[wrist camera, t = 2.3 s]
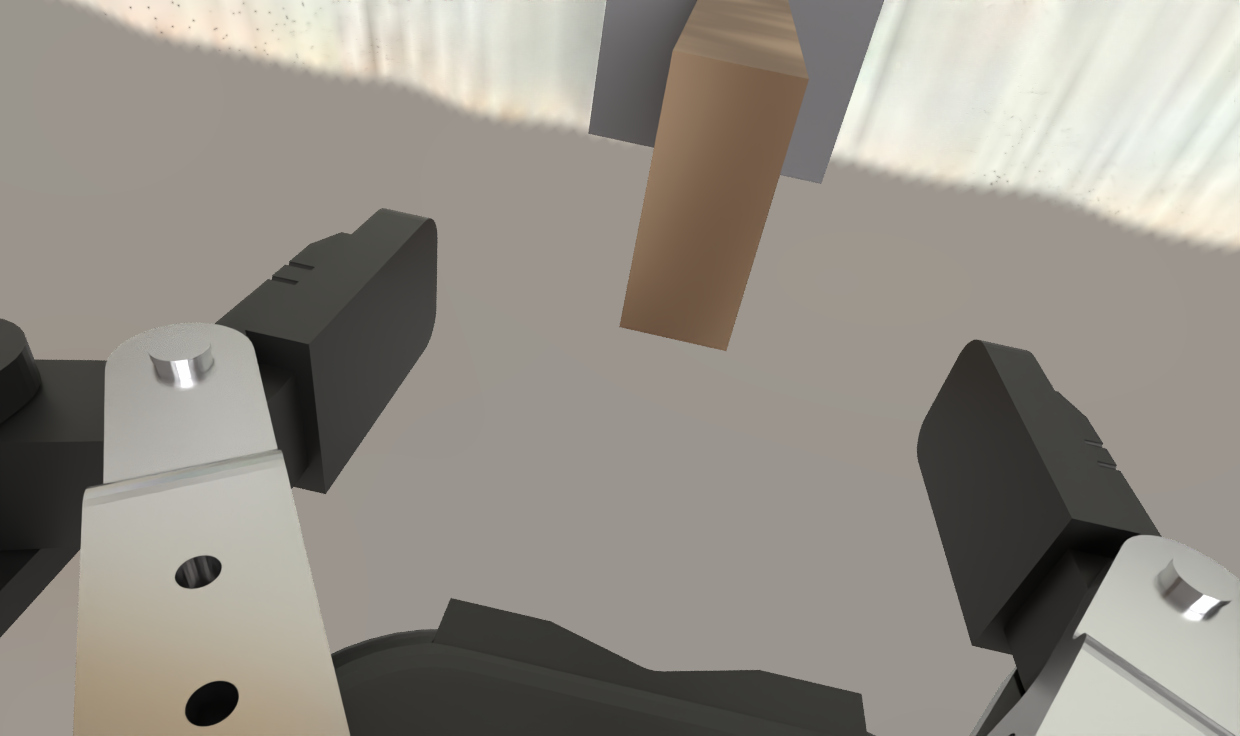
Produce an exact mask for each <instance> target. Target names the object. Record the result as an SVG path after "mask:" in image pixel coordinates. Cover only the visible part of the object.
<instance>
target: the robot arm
mask: <svg viewBox="0 0 1240 736" xmlns="http://www.w3.org/2000/svg"><path fill="white" fill-rule="evenodd" d="M436 286H437V228H436V224H435V222H434V220H432V219H430V218H426V217H421V216H417V215H412V214H407V213H403V212H398V211H394V210H389V209H384V208H382V209H380V210H378V211H377V212H376V213H375V214H374V215H373V216H371V217H370V218H369V219H368V220H367V221H366V222H365V223H364V224H363V225H361V226H360V227H359V228H358V229H357V230H356V231H355V232H354V233H353V234H347V233H342V232H341V233H338V234H336V235H333V236H330V237H328V238H325V239H322V240H320V241H317V242H315V243H312V244H310V245H308V246H307V247H306V248H305V249H304V250H302V251H301V252H300V253H299V254H298V255H296V256H295V257H294V258H293V259H292V260H290V261H289V265H284V266H283V267H282V268H281V269H280V270H279V271H277V272H276V273H275V274H274V275H273V277H272V280H269V279H268V280H266V281H265V282H264V283H263V284H262V285H261V286H259V287H258V288H257V289H256V290H255V291H253V292H252V293H251V294H250V295H248V296H247V297H246V298H245V299H244V300H242V301H241V302H240V303H239V304H238V305H236V306H235V307H234V308H233V309H232V310H230V311H229V312H228V313H227V314H226V315H224V316H223V317H222V318H221V319H220V320H218V321H217V322H216V323H215V324H208V323H183V324H174V325H168V326H163V327H159V328H155V329H152V330H149V331H146V332H143V333H141V334H139V335H137V336H134V337H132V338H131V339H129V340H127V341H125V342H124V343H122V344H121V345H120V346H119V347H117V348H116V349H115V350H114V351H113V353H112V354H111V355H110V356H109V358H108V360H107V361H98V360H95V361H94V360H34V357H33V355H32V352H31V350H30V347H29V345H28V342H27V340H26V337H25V335H24V332H23V331H22V330H21V329H20V327H18V326H16V325H15V324H14V323H12V322H9V321H7V320H4V319H0V637H1V636H2V635H3V634H4V633H5V632H6V631H7V630H8V628H9V627H10V626H11V625H12V624H13V623H14V622H15V621H16V620H17V618H18V617H19V616H20V615H21V614H22V613H23V612H24V611H25V610H26V609H27V607H28V606H29V605H30V604H31V603H32V602H33V601H34V600H35V599H36V598H37V596H38V595H39V594H40V593H41V592H42V590H44V589H45V587H46V586H47V585H48V584H49V583H50V582H51V581H52V580H53V579H54V578H55V576H56V575H57V574H58V573H59V572H60V571H61V570H62V569H63V568H64V567H65V565H66V564H67V563H68V562H69V561H70V560H71V559H72V558H73V557H74V555H75V554H76V553H77V552H78V551H79V550H80V549H81V551H80V577H79V600H78V602H79V603H78V627H77V650H76V674H75V698H74V722H73V736H875V735H873V734H871V733H868V732H867V731H866V724H865V716H864V709H863V703H862V695H861V694H859V693H855V692H851V691H847V690H842V689H838V688H834V687H829V686H825V685H821V684H816V683H812V682H808V681H804V680H799V679H795V678H791V677H787V676H782V675H778V674H774V673H770V672H765V671H761V670H739V671H738V670H737V671H735V670H734V671H671V672H670V671H667V672H662V671H653V670H649V669H646V668H643V667H641V666H639V665H637V664H635V663H633V662H631V661H629V660H627V659H625V658H623V657H621V656H619V655H617V654H615V653H613V652H611V651H609V650H607V649H605V648H603V647H601V646H599V645H597V644H595V643H593V642H591V641H589V640H587V639H585V638H583V637H581V636H579V635H577V634H575V633H573V632H571V631H569V630H567V629H565V628H563V627H561V626H559V625H557V624H555V623H553V622H551V621H546V620H542V619H538V618H534V617H529V616H525V615H521V614H517V613H512V612H508V611H504V610H499V609H495V608H491V607H487V606H482V605H478V604H474V603H469V602H465V601H461V600H457V599H452V598H451V599H450V601H449V604H448V607H447V609H446V611H445V613H444V616H443V618H442V621H441V623H440V626H439V628H438V629H435V630H434V629H430V630H415V631H408V632H400V633H393V634H389V635H385V636H381V637H377V638H373V639H369V640H366V641H363V642H360V643H357V644H354V645H352V646H349V647H346V648H344V649H341V650H339V651H337V652H335V653H333V654H331V653H330V649H329V645H328V641H327V637H326V632H325V628H324V624H323V620H322V616H321V612H320V608H319V604H318V599H317V595H316V591H315V587H314V582H313V578H312V574H311V570H310V566H309V562H308V557H307V554H306V549H305V545H304V541H303V537H302V532H301V528H300V524H299V520H298V516H297V512H296V508H295V503H294V499H293V495H292V491H291V489H292V488H293V487H297V488H302V489H306V490H310V491H315V492H319V493H324V494H326V493H327V491H328V490H329V488H330V487H331V485H332V484H333V482H334V481H335V480H336V478H337V477H338V475H339V474H340V472H341V471H342V469H343V468H344V466H345V465H346V464H347V462H348V461H349V459H350V458H351V456H352V455H353V453H354V452H355V450H356V449H357V447H358V446H359V445H360V443H361V442H362V440H363V439H364V437H365V436H366V434H367V433H368V432H369V430H370V429H371V427H372V426H373V424H374V423H375V421H376V420H377V418H378V417H379V415H380V414H381V413H382V411H383V410H384V408H385V407H386V405H387V404H388V402H389V401H390V399H391V398H392V397H393V395H394V394H395V392H396V391H397V389H398V388H399V386H400V385H401V383H402V382H403V381H404V379H405V378H406V376H407V374H408V373H409V372H410V370H411V369H412V367H413V366H414V365H415V363H416V362H417V360H418V359H419V357H420V356H421V354H422V353H423V351H424V350H425V348H426V347H427V345H428V343H429V340H430V337H431V334H432V331H433V327H434V323H435V317H436V291H437V287H436ZM1102 444H1103V443H1102V441H1101V440H1100V438H1099V436H1098V435H1097V433H1096V432H1095V430H1094V428H1093V427H1092V425H1091V424H1090V422H1089V420H1088V419H1087V417H1086V416H1084V415H1083V414H1082V413H1081V412H1080V411H1079V410H1078V409H1077V408H1075V406H1073V405H1072V404H1071V403H1070V402H1069V401H1068V400H1067V399H1065V398H1064V397H1063V396H1062V395H1061V394H1060V393H1059V392H1057V391H1055V390H1054V389H1053V387H1052V385H1051V384H1050V382H1049V380H1048V379H1047V377H1046V375H1045V374H1044V372H1043V370H1042V369H1041V367H1040V365H1039V364H1038V362H1037V360H1036V359H1035V357H1034V356H1033V354H1032V353H1031V352H1029V351H1027V350H1022V349H1018V348H1013V347H1009V346H1004V345H999V344H995V343H990V342H986V341H981V340H973V341H971V342H970V343H968V344H967V345H966V346H965V347H964V349H963V350H962V352H961V353H960V355H959V356H958V358H957V360H956V362H955V364H954V366H953V368H952V369H951V371H950V373H949V375H948V377H947V379H946V380H945V383H944V384H943V386H942V388H941V390H940V392H939V393H938V396H937V397H936V399H935V401H934V403H933V404H932V406H931V408H930V410H929V412H928V414H927V415H926V417H925V419H924V421H923V424H922V427H921V429H920V433H919V438H918V444H917V457H918V462H919V465H920V469H921V473H922V476H923V479H924V483H925V486H926V489H927V493H928V496H929V500H930V503H931V507H932V510H933V513H934V517H935V520H936V524H937V527H938V531H939V534H940V537H941V541H942V544H943V548H944V551H945V555H946V558H947V561H948V565H949V568H950V572H951V575H952V578H953V582H954V585H955V589H956V592H957V595H958V599H959V602H960V606H961V609H962V612H963V616H964V620H965V623H966V626H967V630H968V633H969V637H970V640H971V643H972V646H976V647H980V648H985V649H989V650H994V651H998V652H1002V653H1007V654H1011V655H1013V658H1014V661H1015V664H1016V667H1015V668H1014V670H1013V671H1012V672H1011V673H1010V674H1009V675H1008V676H1007V677H1006V679H1005V680H1004V681H1003V682H1002V684H1001V685H1000V687H999V688H998V690H997V692H996V693H995V695H994V697H993V698H992V700H991V701H990V703H989V705H988V706H987V708H986V710H985V711H984V713H983V715H982V716H981V718H980V719H979V721H978V722H977V724H976V726H975V727H974V729H973V731H972V732H971V734H970V736H1240V580H1239V579H1238V578H1237V577H1235V576H1234V575H1233V574H1232V573H1231V572H1230V571H1228V570H1227V569H1225V568H1224V567H1223V566H1221V565H1220V564H1219V563H1217V562H1216V561H1214V560H1212V559H1211V558H1209V557H1208V556H1206V555H1204V554H1203V553H1200V552H1198V551H1197V550H1195V549H1193V548H1191V547H1189V546H1187V545H1184V544H1182V543H1179V542H1177V541H1174V540H1171V539H1167V538H1163V537H1162V536H1161V535H1160V533H1159V532H1158V530H1157V529H1156V527H1155V525H1154V524H1153V522H1152V521H1151V519H1150V518H1149V516H1148V514H1147V513H1146V511H1145V509H1144V508H1143V506H1142V505H1141V503H1140V501H1139V500H1138V498H1137V497H1136V495H1135V494H1134V492H1133V490H1132V489H1131V487H1130V486H1129V484H1128V483H1127V481H1126V479H1125V478H1124V476H1123V475H1122V473H1121V471H1118V470H1116V463H1115V462H1114V460H1113V459H1112V457H1111V455H1110V454H1109V452H1108V451H1107V449H1105V448H1102Z"/></svg>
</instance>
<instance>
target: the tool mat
mask: <svg viewBox="0 0 1240 736" xmlns="http://www.w3.org/2000/svg"><path fill="white" fill-rule="evenodd" d="M696 2H697V0H607V2H606V9H605V16H604V24H603V31H602V38H601V46H600V53H599V60H598V68H597V75H596V82H595V90H594V97H593V104H592V111H591V119H590V126H589V134H593V135H598V136H602V137H607V138H612V139H616V140H621V141H626V142H630V143H635V144H639V145H644V146H649V147H653V148H654V146H655V140H656V135H657V130H658V125H659V120H660V114H661V109H662V104H663V99H664V94H665V89H666V83H667V78H668V73H669V68H670V63H671V57H672V52H673V49H674V47H675V45H676V43H677V41H678V39H679V37H680V35H681V33H682V31H683V29H684V27H685V25H686V23H687V20H688V18H689V16H690V14H691V12H692V10H693V8H694V6H695V4H696ZM788 2H789V6H790V10H791V13H792V17H793V21H794V25H795V28H796V32H797V36H798V40H799V43H800V47H801V51H802V55H803V58H804V62H805V66H806V70H807V73H808V77H809V81H808V84H807V87H806V91H805V94H804V97H803V101H802V104H801V107H800V110H799V114H798V117H797V120H796V124H795V127H794V130H793V133H792V137H791V140H790V143H789V147H788V150H787V153H786V156H785V160H784V163H783V166H782V169H781V173H780V175H783V176H788V177H792V178H797V179H802V180H807V181H811V182H815V183H820V184H821V183H822V180H823V177H824V174H825V171H826V168H827V165H828V163H829V160H830V157H831V154H832V151H833V148H834V145H835V142H836V139H837V136H838V133H839V130H840V128H841V125H842V122H843V119H844V116H845V113H846V110H847V107H848V104H849V101H850V98H851V95H852V93H853V90H854V87H855V84H856V81H857V78H858V75H859V72H860V69H861V66H862V63H863V60H864V57H865V55H866V52H867V49H868V46H869V43H870V40H871V37H872V34H873V31H874V28H875V25H876V22H877V20H878V17H879V14H880V11H881V8H882V5H883V2H884V0H788Z"/></svg>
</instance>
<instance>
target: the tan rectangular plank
mask: <svg viewBox="0 0 1240 736" xmlns="http://www.w3.org/2000/svg"><path fill="white" fill-rule="evenodd" d="M808 81H809V77H808V73H807V70H806V66H805V62H804V58H803V55H802V51H801V47H800V43H799V40H798V36H797V32H796V28H795V25H794V21H793V17H792V13H791V10H790V6H789V2H788V0H697V2H696V4H695V6H694V8H693V10H692V12H691V14H690V16H689V18H688V20H687V23H686V25H685V27H684V29H683V31H682V33H681V35H680V37H679V39H678V41H677V43H676V45H675V47H674V49H673V52H672V57H671V63H670V68H669V73H668V78H667V83H666V89H665V94H664V99H663V104H662V109H661V114H660V120H659V125H658V130H657V135H656V140H655V146H654V151H653V157H652V161H651V167H650V171H649V177H648V182H647V187H646V192H645V198H644V203H643V208H642V213H641V218H640V223H639V228H638V234H637V239H636V244H635V249H634V255H633V260H632V265H631V270H630V276H629V280H628V285H627V291H626V296H625V301H624V306H623V311H622V317H621V322H620V327H622V328H627V329H631V330H635V331H640V332H644V333H649V334H654V335H657V336H662V337H666V338H671V339H675V340H680V341H684V342H689V343H693V344H697V345H702V346H706V347H711V348H715V349H720V350H724V351H726V350H727V347H728V343H729V340H730V337H731V333H732V330H733V327H734V324H735V320H736V317H737V314H738V310H739V307H740V304H741V301H742V297H743V294H744V291H745V287H746V284H747V281H748V278H749V275H750V271H751V268H752V265H753V261H754V258H755V255H756V252H757V248H758V245H759V241H760V238H761V235H762V232H763V229H764V225H765V222H766V218H767V215H768V212H769V209H770V206H771V202H772V199H773V196H774V192H775V189H776V186H777V183H778V179H779V176H780V173H781V169H782V166H783V163H784V160H785V156H786V153H787V150H788V147H789V143H790V140H791V137H792V133H793V130H794V127H795V124H796V120H797V117H798V114H799V110H800V107H801V104H802V101H803V97H804V94H805V91H806V87H807V84H808Z"/></svg>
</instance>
